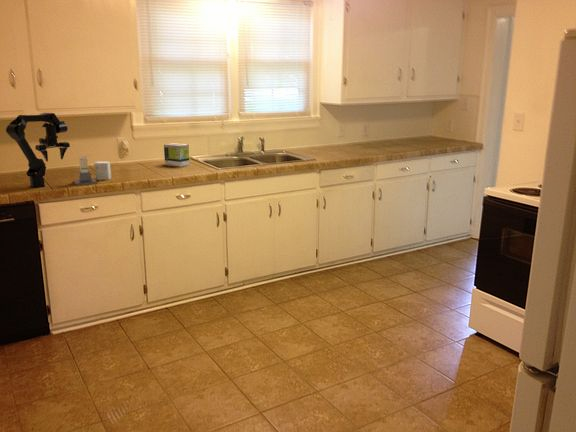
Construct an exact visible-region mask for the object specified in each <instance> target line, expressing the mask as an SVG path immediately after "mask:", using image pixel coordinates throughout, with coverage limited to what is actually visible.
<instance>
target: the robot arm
mask: <svg viewBox="0 0 576 432" xmlns="http://www.w3.org/2000/svg"><path fill="white" fill-rule="evenodd" d="M30 122H31V123H33V122H37V123H38V122H40V123H41V122H42V123H43V125H41V128H45V136H44V137H42V138H38V142H39V144H36V145H35V146H34V149H35V150H36V151H38V152H40V153H41V154H42V156H43V158H38V157H37V156H36V153H34V150H33V149H32V147H31V145H30V144H29V142H28V140H27V139H26V133H25V129H26V128H27V123H30ZM67 131H68V126H67V124H66V123H65V121H64V120H60V119H59V118H58V116H57V115H56V113H53V112H43V113H40V114H19V115H17V116H16V118H15V119H13V120H12V121H10V123H9V124H8V125H7V126H6V129H5V132H6V134H7V135H8V136H9V137H10V138H12V139H13V140H14V141H15V142H16V143H17V145H18V147H19V148H20V150H21V151H22V153H23V155H24V157H25V158H26V160H27V161H28V170H27V171H26V172H25V173H26V176H27V177H29V181H30V182H29V183H30V185H29V187H31V188H34V189H36V188H37V189H38V188H42V187H46V185H45V178H44V177H45V176H46V170H47V167H46V165H47V164H46V163H45V162H49V156H48V154H49V153H48V150H47V149H52V148H54V149H55V148H58V149H59V155H60V159H61V160H63V158H64V156H65V155H66V154H65V153H66V152H67V150H68V149H69V148H70V147H71V146H70V142H67V141H60V142H58V138H59V136H58V134H62V133H66V132H67ZM44 160H45V162H44Z"/></svg>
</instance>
